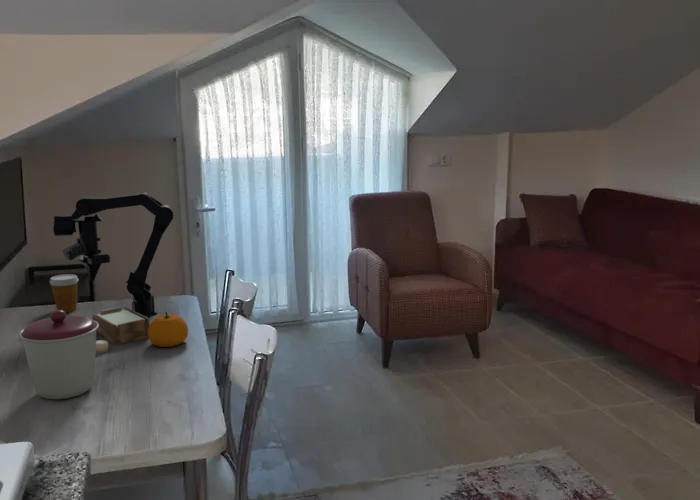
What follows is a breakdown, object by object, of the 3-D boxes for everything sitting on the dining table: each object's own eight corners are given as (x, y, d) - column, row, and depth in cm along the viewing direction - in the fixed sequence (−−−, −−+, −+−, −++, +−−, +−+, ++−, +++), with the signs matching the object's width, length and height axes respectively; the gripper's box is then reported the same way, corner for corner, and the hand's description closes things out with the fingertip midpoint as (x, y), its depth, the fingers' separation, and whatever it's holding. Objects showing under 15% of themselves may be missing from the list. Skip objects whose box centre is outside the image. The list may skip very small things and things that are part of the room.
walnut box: (127, 324, 224) (125, 306, 223) (150, 337, 211) (148, 318, 210) (93, 331, 217) (92, 313, 216) (115, 345, 204) (114, 325, 203)
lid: (124, 311, 222) (124, 305, 221) (144, 321, 210) (144, 315, 210) (96, 316, 216) (96, 311, 215) (116, 327, 205) (115, 321, 204)
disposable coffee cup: (51, 308, 244) (48, 275, 242) (80, 305, 248) (77, 272, 245) (52, 315, 235) (49, 281, 233) (82, 311, 239) (79, 278, 237)
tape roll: (104, 346, 203) (103, 338, 203) (111, 350, 199) (110, 342, 199) (87, 350, 200) (87, 342, 199) (94, 355, 196) (93, 346, 196)
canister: (119, 386, 173) (112, 306, 169) (57, 412, 158) (48, 325, 154) (72, 373, 182) (65, 297, 178) (9, 397, 167) (0, 314, 163)
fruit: (179, 351, 199) (177, 318, 197) (141, 349, 201) (139, 316, 199) (194, 338, 210) (192, 306, 208) (158, 336, 212) (156, 305, 210)
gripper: (53, 234, 228) (57, 279, 231) (74, 241, 214) (79, 289, 217) (86, 230, 235) (90, 274, 238) (109, 237, 222) (112, 283, 225)
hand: (92, 280), depth 229 cm, fingers closed
